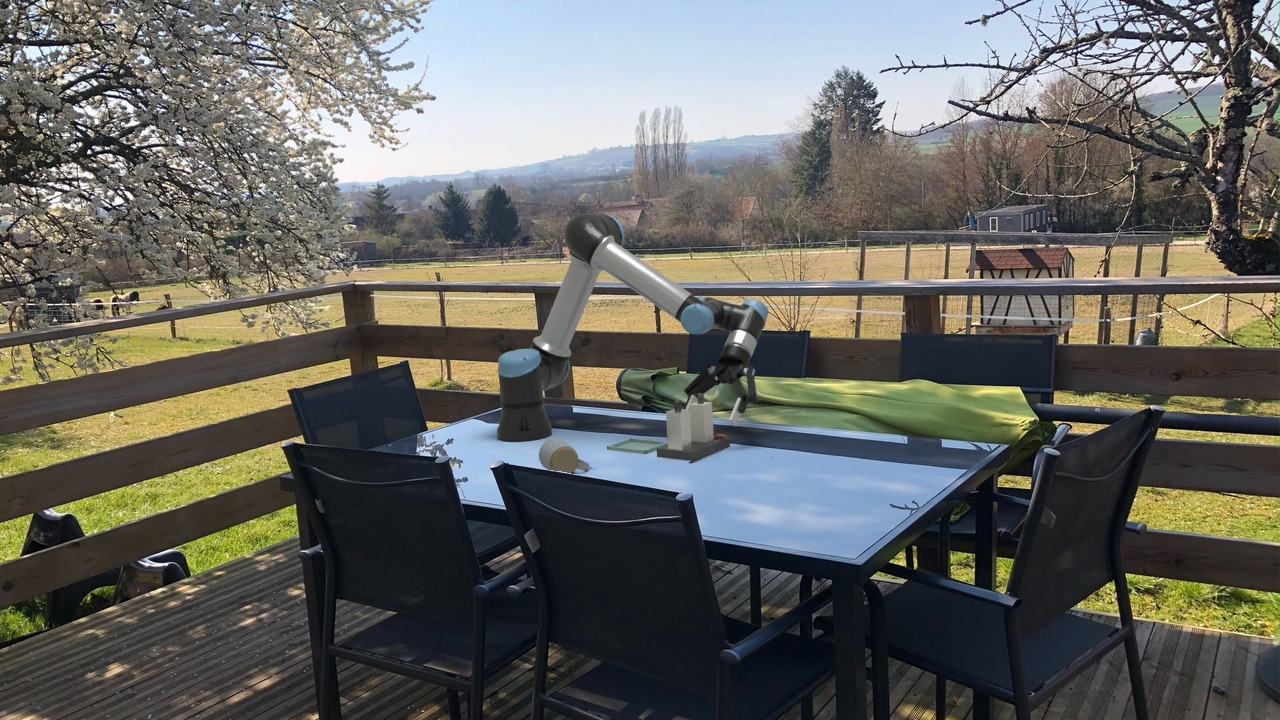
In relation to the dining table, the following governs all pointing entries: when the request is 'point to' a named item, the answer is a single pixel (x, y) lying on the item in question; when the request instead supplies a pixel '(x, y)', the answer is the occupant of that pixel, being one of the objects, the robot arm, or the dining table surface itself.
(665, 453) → the pdu strip
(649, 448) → the tray
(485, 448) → the dining table surface
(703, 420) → the ivory plug
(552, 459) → the ceramic mug
